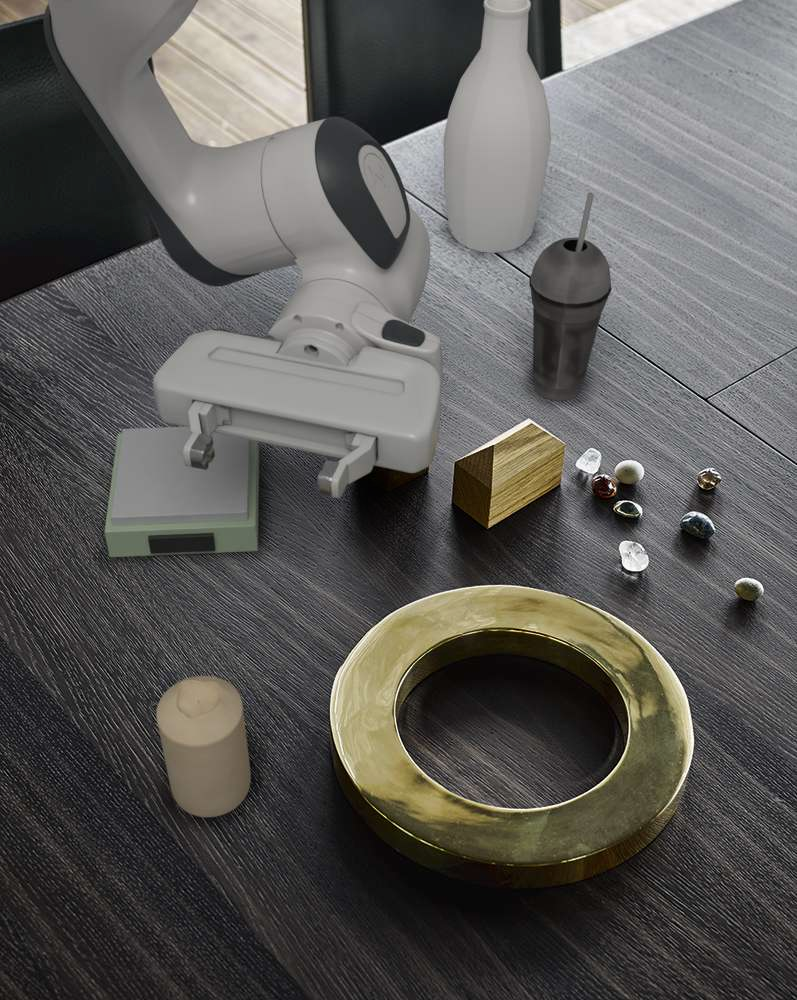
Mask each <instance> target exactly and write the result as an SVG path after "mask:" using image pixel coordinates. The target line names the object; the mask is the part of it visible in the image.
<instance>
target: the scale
mask: <svg viewBox="0 0 797 1000" xmlns="http://www.w3.org/2000/svg"><path fill="white" fill-rule="evenodd" d="M190 436H191V432H190V427H185V426H167V427H166V426H164V427H162V426H161V427H137V428H135V427H134V428H122V430H121V433H120V432H119V433H117V436H116V443H115V451H114V459H113V464H112V465H113V466H112V472H111V473H112V474H111V480H110V488H109V493H108V494H109V495H108V502H107V510H106V518H105V524H104V532H103V533H104V536H105V541H106V546H107V551H108V555H109V558H127V557H128V558H129V557H151V556H152V557H153V556H173V555H174V556H175V555H178V556H179V555H197V554H198V555H199V554H223V553H243V552H245V553H247V552H258V551H259V500H260V499H259V497H260V496H259V495H260V494H259V493H260V448H259V442H258V441H253V440H248V439H243V438H239V437H234V436H229V435H224V434H219V433H214V432H213V433H212V435H211V436H212V437H213V445H212V447H213V448H214V452H215V457H214V459H213V460H212V462H211V463H209V467H208V469H207V470H203V469H198V468H193V467H188V466H185V465H184V458H183V448H184V445H185V444H186V442H187V441H188V439H189V437H190Z"/></svg>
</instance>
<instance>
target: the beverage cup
mask: <svg viewBox="0 0 797 1000" xmlns="http://www.w3.org/2000/svg"><path fill="white" fill-rule="evenodd" d="M594 197H595V193H593V192H590V191H589V192H588V193H587V196H586V200H585V205H584V210H583V215H582V220H581V224H580V228H579V233H578V237H566V238H565V237H564V238H561V239H558V240H556V241H554V242H552V243H551V244H549V245H548V246H547V247H546V248H544V249H543V250H542V251H541V253H540V254H539V256H538V257H537V260H536V261H535V263H534V264H533V267H532V271H531V274H530V276H529V278H528V281H529V282H528V283H529V288H530V296H531V304H532V306H533V307H532V308H533V309H532V311H533V312H532V313H533V314H532V316H533V317H532V321H533V322H532V375H533V388H534V391H535V392H536V393H537V394H538V395H539V396H541V397H542V398H545V399H546V400H551V401H554V402H556V401H557V402H563V401H570V400H572V399H574V398H576V397H577V396H578V395H580V393H581V390H582V387H583V386H582V385H583V383H584V380H585V378H586V374H587V370H588V367H589V362H590V359H591V355H592V352H593V348H594V344H595V340H596V337H597V331H598V328H599V323H600V320H601V316H602V313H603V310H604V309H605V307H606V304H607V301H608V299H609V297H610V294H611V292H612V279H611V270H610V269H611V268H610V265H609V262H608V260H607V257H606V256H605V255H604V253H603V252H602V250H601V248H599V247H598V246H597V245H595V244H594V243H593V242H591V241H589V240H586V239H585V237H586V233H587V228H588V223H589V219H590V215H591V211H592V205H593V201H594Z"/></svg>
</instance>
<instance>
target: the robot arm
mask: <svg viewBox="0 0 797 1000" xmlns="http://www.w3.org/2000/svg"><path fill="white" fill-rule="evenodd" d="M46 1H47V5H46V7H45V10H44V13H43V14H44V15H43V33H44V38H45V42H46V45H47V48H48V51H49V53H50V56H51V58H52V60H53V63H54V64H55V66H56V68H57V70H58V73H59V75H60V76H61V78H62V79H63V82H64V83H65V85H66V86H67V89H68V90H69V91H70V93H71V95H72V96H73V98H74V99H75V101H76V102H77V104H78V106H79V107H80V109H81V111H82V112H83V113H84V116H86V118H87V119H88V121H89V123H90V124H91V125H92V127H93V128H94V131H95V132H96V133H97V135H98V137H99V138H100V140H102V142H103V144H104V145H105V147H106V148H107V150H108V151H109V153H110V154H111V156H112V157H113V159H114V160H115V161H116V164H117V165H118V167H119V168H120V170H121V171H122V172H123V174H124V175H125V177H126V178H127V180H128V181H129V183H130V184H131V186H132V187H133V189H134V190H135V192H136V193H137V195H138V197H139V198H140V199H141V201H142V203H143V204H144V206H145V208H146V210H147V212H148V214H149V216H150V219H151V221H152V224H153V226H154V229H155V231H156V232H157V233H156V234H157V235H158V238H159V239H160V242H161V244H162V246H163V248H164V250H165V251H166V252H167V254H168V256H169V257H170V258H171V260H172V261H173V262H174V263H175V264H176V265H177V266H178V267H179V268H180V269H181V270H182V271H184V272H185V273H186V274H187V275H189V276H190V277H192V278H194V279H195V280H197V281H198V282H200V283H202V284H204V285H207V286H209V287H216V288H217V287H218V288H221V287H225V286H228V285H231V284H234V283H238V282H240V281H243V280H246V279H249V278H252V277H255V276H257V275H261V274H262V273H266V272H269V271H270V272H271V271H274V270H279V269H283V268H287V267H292V266H297V268H298V269H299V272H300V282H299V284H298V286H297V287H296V288H295V290H294V291H293V292H292V294H291V296H290V297H289V299H288V300H287V302H286V303H285V306H284V307H283V308H282V310H281V312H280V314H279V315H278V317H276V319H275V321H274V323H273V324H272V326H271V328H270V329H269V331H268V333H267V335H266V336H263V335H262V336H261V335H256V334H251V333H238V332H233V331H231V330H228V329H225V328H213V329H211V330H210V329H209V330H203V331H200V332H196V333H192V334H191V335H189V336H188V337H187V338H186V339H185V341H184V342H183V343H182V344H181V345H180V346H179V347H178V348H177V349H176V350H175V351H174V352H173V353H172V354H171V355H170V356H169V357H168V358H167V360H165V362H164V363H163V364H162V365H161V366H160V367H159V369H158V370H157V371H156V373H154V374H155V375H154V376H153V379H152V392H153V399H154V404H155V408H156V410H157V413H158V415H159V417H160V419H161V420H162V421H163V422H165V423H167V424H171V425H176V426H180V427H190V432H191V436H190V437H189V439H188V441H187V442H186V444H185V445H184V448H183V458H184V465H185V466H188V467H193V468H198V469H203V470H207V469H208V467H209V463H211V462H212V460H213V459H214V457H215V452H214V448H213V447H212V445H213V437H212V436H211V435H212V433H213V432H214V433H219V434H224V435H229V436H234V437H239V438H243V439H248V440H253V441H258V443H263V444H268V445H272V446H278V447H282V448H288V449H292V450H298V451H302V452H307V453H311V454H317V455H321V456H327V457H331V458H335V459H339V460H338V461H334V460H328V459H325V460H324V463H323V464H322V469H321V470H320V471H319V473H318V476H317V482H316V485H317V486H318V488H317V494H318V495H320V496H325V497H329V498H334V499H339V500H340V499H341V498H342V496H343V494H344V492H345V490H346V488H347V485H350V484H352V483H354V482H356V481H357V480H359V479H361V478H363V477H364V476H367V475H368V474H370V473H371V472H372V471H373V468H374V467H381V468H384V469H389V470H393V471H399V472H404V473H408V474H416V473H418V472H421V471H424V470H425V469H427V468H429V467H430V465H431V464H432V461H433V460H434V456H435V453H436V450H437V446H438V441H439V436H440V426H441V425H440V424H441V422H440V421H441V409H442V407H441V404H442V390H443V389H442V388H443V377H444V365H443V363H444V361H443V350H442V341H441V339H440V337H439V336H437V335H436V334H434V333H432V332H431V331H428V330H425V329H423V328H420V327H418V326H415V325H413V324H411V323H410V322H411V320H412V318H413V316H414V314H415V312H416V310H417V308H418V306H419V304H420V300H421V298H422V295H423V293H424V289H425V286H426V283H427V279H428V274H429V271H430V265H431V264H430V263H431V240H430V236H429V232H428V230H427V228H426V225H425V222H424V221H423V220H422V218H421V216H420V215H419V214H418V213H417V212H416V211H415V210H414V209H413V208H412V207H411V206H410V204H409V201H408V197H407V192H406V190H405V187H404V183H403V181H402V178H401V176H400V174H399V172H398V170H397V167H396V165H395V164H394V162H393V160H392V158H391V156H390V154H389V153H388V151H386V149H385V148H384V147H383V146H382V145H381V144H380V142H378V141H377V140H376V139H375V138H373V136H372V135H371V134H369V133H368V132H367V131H365V129H363V128H362V127H360V126H359V125H357V124H356V123H354V122H352V121H350V120H348V119H346V118H344V117H340V116H329V117H327V118H323V119H320V120H315V121H311V122H307V123H304V124H300V125H297V126H294V127H290V128H286V129H282V130H280V131H279V130H278V131H276V132H275V133H271V134H269V135H265V136H262V137H259V138H254V139H251V140H247V141H243V142H241V143H237V144H233V145H230V146H208V145H205V144H201V143H199V142H196V141H194V140H193V139H192V138H191V136H190V135H189V133H188V131H187V130H186V128H185V126H184V125H183V122H182V121H181V119H180V118H179V116H178V115H177V112H176V110H175V109H174V107H173V106H172V104H171V102H170V101H169V98H168V97H167V95H166V94H165V93H164V90H163V88H162V87H161V85H160V84H159V82H158V80H157V79H156V77H155V75H154V74H153V72H152V70H151V67H150V65H149V62H148V61H149V59H150V58H151V57H152V56H153V55H155V53H156V52H157V51H159V49H160V48H162V46H164V45H165V44H166V43H167V42H168V41H169V40H170V39H171V38H172V37H173V36H174V35H175V34H176V33H177V32H178V30H180V28H181V27H182V26H183V25H184V23H185V22H186V20H187V19H188V18H189V17H190V15H191V13H192V12H193V10H194V8H195V7H196V5H197V3H198V2H199V0H46Z"/></svg>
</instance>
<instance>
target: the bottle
mask: <svg viewBox="0 0 797 1000" xmlns="http://www.w3.org/2000/svg"><path fill="white" fill-rule="evenodd" d="M531 6H532V2H531V0H484V1H483V8H484V15H483V24H482V34H481V43H480V49H479V50H478V52H477V53H476V55H475V56H474V58H473V60H471V62H470V64H469V65H468V67H467V68H466V70H465V71H464V73H463V75H462V76H461V77H460V80H459V82H458V85H457V88H456V90H455V93H454V94H453V95H454V96H453V98H452V101H451V104H450V107H449V110H448V113H447V119H446V124H445V129H444V133H443V190H444V197H445V198H444V199H445V205H446V206H445V207H446V214H447V223H448V222H449V223H448V229H449V231H450V234H451V235H452V237H453V238H454V239H455V240H456V242H458V244H460V245H462V246H464V247H465V248H467V249H469V250H472V251H475V252H479V253H487V254H488V253H489V254H500V253H506V252H510V251H513V250H516V249H518V248H519V247H522V246H523V245H524V244H525V243H526V242H527V241H528V240H529V238H530V237H531V236H532V234H533V230H534V227H535V223H536V220H537V217H538V216H537V215H538V211H539V208H540V204H541V202H542V201H541V200H542V197H543V194H544V187H545V181H546V174H547V170H548V169H547V168H548V162H549V155H550V149H551V143H552V133H551V117H550V109H549V104H548V100H547V95H546V92H545V91H546V90H545V86H544V84H543V82H542V80H541V77H540V76H539V73H538V72H537V69H536V67H535V65H534V63H533V61H532V58H531V57H530V55H529V52H528V37H529V35H528V33H529V12H530V10H531V8H532V7H531ZM449 225H450V226H449ZM450 229H451V230H452V231H453V232H452V231H451V230H450ZM461 239H462V240H461Z"/></svg>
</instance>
